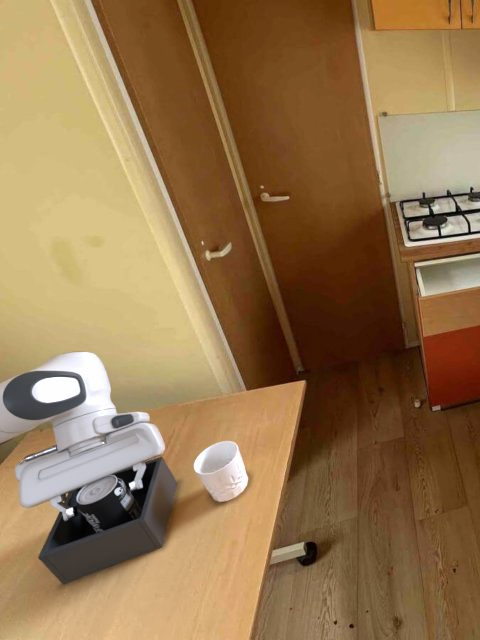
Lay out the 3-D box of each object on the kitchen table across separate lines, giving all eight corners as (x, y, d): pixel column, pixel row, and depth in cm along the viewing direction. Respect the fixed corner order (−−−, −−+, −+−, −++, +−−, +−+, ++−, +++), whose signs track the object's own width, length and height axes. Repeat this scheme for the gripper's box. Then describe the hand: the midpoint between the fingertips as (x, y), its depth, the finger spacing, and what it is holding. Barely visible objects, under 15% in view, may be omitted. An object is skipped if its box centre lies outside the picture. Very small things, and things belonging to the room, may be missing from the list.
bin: (63, 584, 75) (37, 557, 71) (92, 511, 87) (71, 484, 83) (162, 546, 81) (144, 519, 77) (177, 482, 93) (162, 456, 89)
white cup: (238, 464, 97) (225, 435, 92) (258, 481, 93) (245, 451, 88) (202, 493, 91) (185, 462, 86) (221, 512, 87) (205, 481, 82)
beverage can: (93, 539, 82) (63, 501, 76) (128, 506, 87) (102, 469, 82) (119, 547, 80) (90, 510, 75) (153, 514, 86) (128, 476, 80)
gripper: (2, 461, 74) (17, 541, 72) (149, 408, 85) (166, 476, 82) (22, 459, 79) (37, 533, 77) (157, 410, 90) (174, 474, 88)
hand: (105, 503), depth 80 cm, fingers open, 8 cm apart
